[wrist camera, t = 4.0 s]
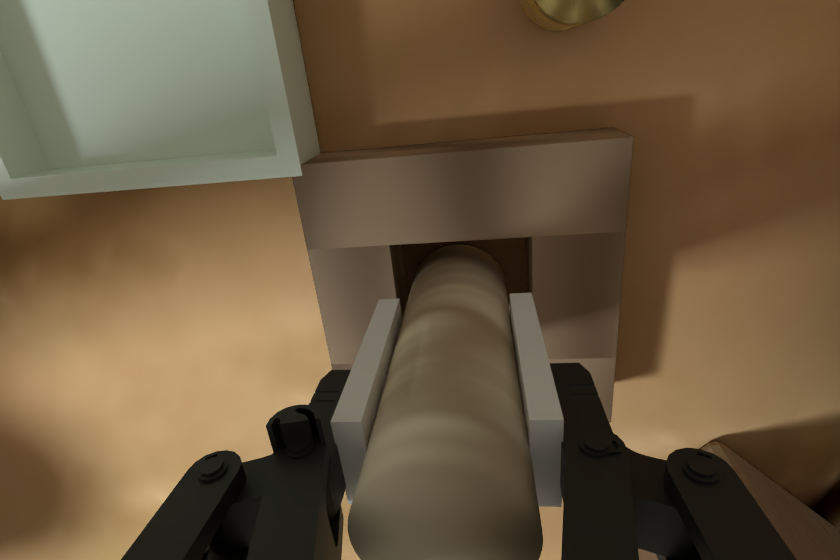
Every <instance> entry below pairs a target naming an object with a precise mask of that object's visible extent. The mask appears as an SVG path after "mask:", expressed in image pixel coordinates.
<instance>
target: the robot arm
mask: <svg viewBox="0 0 840 560" xmlns="http://www.w3.org/2000/svg"><path fill="white" fill-rule="evenodd" d="M510 319H511V326H512V333H513V340H514V347H515V354H516V361H517V368H518V374H519V381H520V388H521V395H522V402H523V409H524V416H525V422H526V429H527V436H528V443H529V450H530V455H531V459H532V466H533V472H534V479H535V486H536V493H537V499H538V506H555V507H561V503H562V498H563V503H564V511H563V534H562V558H561V560H639V553H638V548H639V549H642V550H645V551H648V552H652V553H655V554H656V556H657V558H658V560H797V559H796V558H795V557H794V555H793V554H792V552H791V551H790V549H789V548H788V546H787V545H786V544H785V542H784V541H783V539H782V538H781V536H780V535H779V534H778V532H777V531H776V529H775V528H774V526H773V525H772V523H771V522H770V521H769V519H768V518H767V516H766V515H765V513H764V512H763V511H762V509H761V508H760V506H759V505H758V503H757V502H756V501H755V499H754V498H753V496H752V495H751V493H750V492H749V490H748V489H747V488H746V486H745V485H744V483H743V482H742V480H741V479H740V478H739V476H738V475H737V473H736V472H735V470H734V469H733V468H732V467H731V466H730V465H729V464H728V463H727V462H726V461H725V460H723V459H722V458H720V457H718V456H717V455H715V454H713V453H710V452H707V451H704V450H701V449H694V448H683V449H678V450H675V451H674V452H672V453H671V454H669V456H668V459H667V461H666V460H662V459H657V458H653V457H649V456H645V455H642V454H639V453H636V452H634V451H632V450H630V449H628V448H627V447H626V446H625V444H624V442H623V441H622V440H621V439H620V438H619V437H618V436H617V435H615V434H613V432H612V429H611V427H610V424H609V421H608V419H607V416H606V413H605V411H604V408H603V405H602V403H601V400H600V397H599V396H598V392H597V389H596V387H595V384H594V381H593V379H592V376H591V374H590V372H589V371H588V370H587V369H586V368H584V367H583V366H582V365H581V364H580V363H549V359H548V355H547V352H546V348H545V344H544V340H543V336H542V332H541V328H540V324H539V320H538V316H537V312H536V308H535V304H534V300H533V296H532V293H511V294H510ZM401 323H402V315H401V307H400V299H379V301H378V303H377V306H376V308H375V311H374V313H373V316H372V318H371V321H370V323H369V326H368V328H367V331H366V334H365V336H364V339H363V341H362V344H361V346H360V349H359V351H358V354H357V356H356V359H355V361H354V364H353V366H352V369H351V370H331V371H330V372H329V373H328V374H327V375H326V376H325V377H323V378H322V379H321V380H320V382H319V385H318V387H317V389H316V391H315V393H314V395H313V397H312V399H311V403H309V405H295V406H291V407H287V408H285V409H283V410H281V411H279V412H277V413H276V414H275V415H274V416H273V417H272V418H270V420H269V422H268V423H267V425H266V428H267V431H268V435H269V438H270V442H271V445H272V448H273V454H272V455H269V456H266V457H263V458H259V459H255V460H251V461H247V462H243V463H242V462H241V459H240V456H239V455H237V454H236V453H235V452H232V451H227V450H226V451H217V452H214V453H211V454H209V455H206V456H204V457H203V458H201V459H200V460H198V461H196V462H195V463H194V464H193V465H192V466H191V467H190V468H189V469H188V471H187V472H186V473H185V475H184V476H183V477H182V479H181V480H180V481H179V483H178V484H177V485H176V487H175V488H174V489H173V491H172V492H171V493H170V495H169V496H168V497H167V499H166V500H165V501H164V503H163V504H162V505H161V507H160V508H159V509H158V511H157V512H156V513H155V515H154V516H153V518H152V519H151V520H150V522H149V523H148V524H147V526H146V527H145V528H144V530H143V531H142V532H141V534H140V535H139V536H138V538H137V539H136V540H135V542H134V543H133V544H132V546H131V547H130V548H129V550H128V551H127V552H126V554H125V555H124V556H123V558H122V559H121V560H341V553H342V536H343V513H342V508H341V502H342V498H343V495H344V492H345V490H346V495H347V499H348V504H352V502H353V498H354V494H355V491H356V487H357V483H358V480H359V476H360V472H361V469H362V465H363V462H364V458H365V454H366V451H367V447H368V443H369V440H370V436H371V432H372V429H373V425H374V421H375V418H376V414H377V411H378V407H379V403H380V400H381V396H382V392H383V389H384V385H385V381H386V378H387V374H388V370H389V367H390V363H391V360H392V356H393V352H394V349H395V345H396V341H397V338H398V334H399V330H400V327H401Z"/></svg>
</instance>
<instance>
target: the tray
mask: <svg viewBox="0 0 840 560" xmlns="http://www.w3.org/2000/svg"><path fill="white" fill-rule="evenodd" d="M318 154H320V147H319V142H318V136H317V131H316V125H315V120H314V114H313V109H312V103H311V98H310V92H309V87H308V81H307V76H306V70H305V65H304V59H303V54H302V48H301V42H300V37H299V31H298V26H297V20H296V15H295V9H294V4H293V0H0V196H1V198H2V200H10V199H22V198H34V197H47V196H59V195H72V194H84V193H96V192H109V191H121V190H134V189H146V188H159V187H171V186H183V185H196V184H208V183H221V182H233V181H245V180H258V179H270V178H283V177H295V176H302V171H301V166H300V165H301V164H303V163H305V162H306V161H308V160H310V159H311V158H313V157H315V156H317V155H318Z"/></svg>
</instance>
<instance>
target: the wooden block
mask: <svg viewBox="0 0 840 560" xmlns="http://www.w3.org/2000/svg"><path fill="white" fill-rule="evenodd" d="M701 450H704V451H707V452H710V453H713V454H715V455H717V456H718V457H720V458H722V459H723V460H725V461H726V462H727V463H728V464H729V465H730V466H731V467H732V468H733V469H734V470H735V472H736V473H737V475H738V476H739V478H740V479H741V480H742V482H743V483H744V485H745V486H746V488H747V489H748V490H749V492H750V493H751V495H752V496H753V498H754V499H755V501H756V502H757V503H758V505H759V506H760V508H761V509H762V511H763V512H764V513H765V515H766V516H767V518H768V519H769V521H770V522H771V523H772V525H773V526H774V528H775V529H776V531H777V532H778V534H779V535H780V536H781V538H782V539H783V541H784V542H785V544H786V545H787V546H788V548H789V549H790V551H791V552H792V554H793V555H794V557H795V558H796V559H797V560H840V530H838V529H837V528H836V527H834V526H833V525H831V524H830V523H829V522H827V521H826V520H825V519H823V518H822V517H821V516H819V515H818V514H817V513H815V512H814V511H813V510H811V509H810V508H809V507H807V506H806V505H805V504H803V503H802V502H801V501H799V500H798V499H797V498H795V497H794V496H793V495H791V494H790V493H788V492H787V491H786V490H784V489H783V488H782V487H780V486H779V485H778V484H776V483H775V482H774V481H772V480H771V479H770V478H768V477H767V476H766V475H764V474H763V473H762V472H760V471H759V470H758V469H756V468H755V467H754V466H752V465H751V464H750V463H748V462H747V461H746V460H744V459H743V458H741V457H740V456H739V455H737V454H736V453H735V452H733V451H732V450H731V449H729V448H728V447H727V446H725V445H724V444H722V443H720V442H717V441H715V442H711V443H708V444H707V445H706V446H704V447H703V448H701ZM638 553H639V560H658V558H657V556H656V554H655V553H652V552H648V551H645V550H642V549H639V548H638Z"/></svg>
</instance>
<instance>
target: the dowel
mask: <svg viewBox="0 0 840 560" xmlns="http://www.w3.org/2000/svg"><path fill="white" fill-rule="evenodd" d="M348 533H349V538H350V541H351V544H352V546H353V548H354V550H355V552H356V553H357V555H358V556H359V558H360V559H361V560H538V559H539V557H540V554H541V551H542V545H543V535H542V527H541V520H540V513H539V506H538V499H537V493H536V486H535V479H534V472H533V466H532V459H531V455H530V450H529V443H528V436H527V429H526V422H525V416H524V409H523V402H522V395H521V388H520V381H519V374H518V368H517V361H516V354H515V347H514V340H513V333H512V326H511V319H510V310H509V303H508V296H507V289H506V283H505V278H504V274H503V272H502V269H501V268H500V266H499V264H498V263H497V262H496V261H495V260H494V259H493V258H492V257H491V256H490V255H489V254H487V253H486V252H484V251H483V250H481V249H478V248H476V247H473V246H469V245H449V246H445V247H442V248H439V249H437V250H435V251H433V252H432V253H430V254H429V255H428V256H427V257H426V258H425V259H424V260H423V261H422V262H421V263H420V265H419V266H418V268H417V270H416V273H415V276H414V279H413V283H412V287H411V290H410V294H409V298H408V301H407V305H406V309H405V312H404V316H403V320H402V323H401V327H400V330H399V334H398V338H397V341H396V345H395V349H394V352H393V356H392V360H391V363H390V367H389V370H388V374H387V378H386V381H385V385H384V389H383V392H382V396H381V400H380V403H379V407H378V411H377V414H376V418H375V421H374V425H373V429H372V432H371V436H370V440H369V443H368V447H367V451H366V454H365V458H364V462H363V465H362V469H361V472H360V476H359V480H358V483H357V487H356V491H355V494H354V498H353V502H352V505H351V509H350V513H349V517H348Z"/></svg>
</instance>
